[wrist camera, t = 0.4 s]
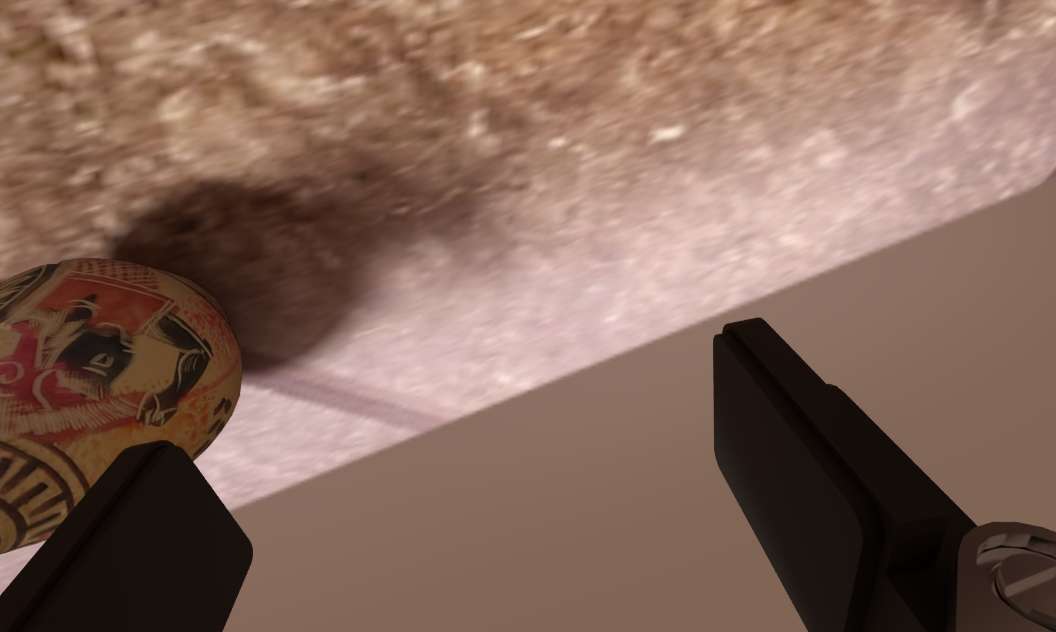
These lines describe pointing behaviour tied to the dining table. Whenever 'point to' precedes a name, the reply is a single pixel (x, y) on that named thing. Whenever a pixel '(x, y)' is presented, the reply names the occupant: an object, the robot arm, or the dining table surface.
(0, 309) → the ceramic jug
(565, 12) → the dining table surface
